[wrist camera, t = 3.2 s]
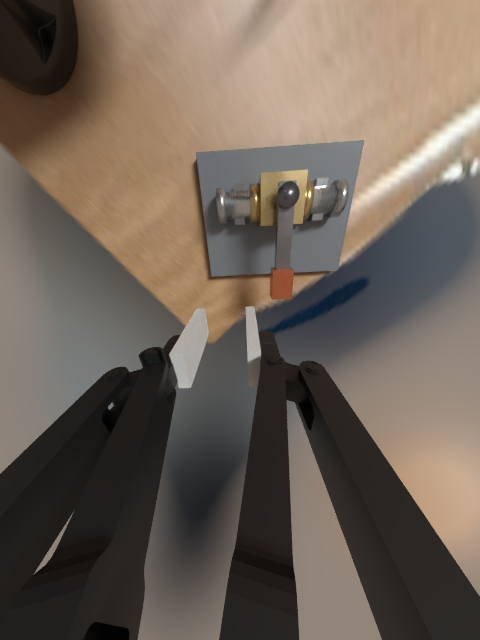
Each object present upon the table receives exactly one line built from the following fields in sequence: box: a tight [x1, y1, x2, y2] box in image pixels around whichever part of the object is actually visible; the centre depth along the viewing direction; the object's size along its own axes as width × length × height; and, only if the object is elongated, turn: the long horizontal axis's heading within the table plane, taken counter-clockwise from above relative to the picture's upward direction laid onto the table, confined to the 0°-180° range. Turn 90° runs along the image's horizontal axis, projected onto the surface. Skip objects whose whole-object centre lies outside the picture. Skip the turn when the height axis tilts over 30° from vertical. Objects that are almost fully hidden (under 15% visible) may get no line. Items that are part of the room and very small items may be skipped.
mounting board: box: [196, 140, 364, 277], centre depth 29 cm, size 24×18×2 cm
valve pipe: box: [216, 170, 349, 227], centre depth 26 cm, size 18×6×6 cm, turn 93°
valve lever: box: [270, 180, 300, 299], centre depth 24 cm, size 15×3×3 cm, turn 3°
